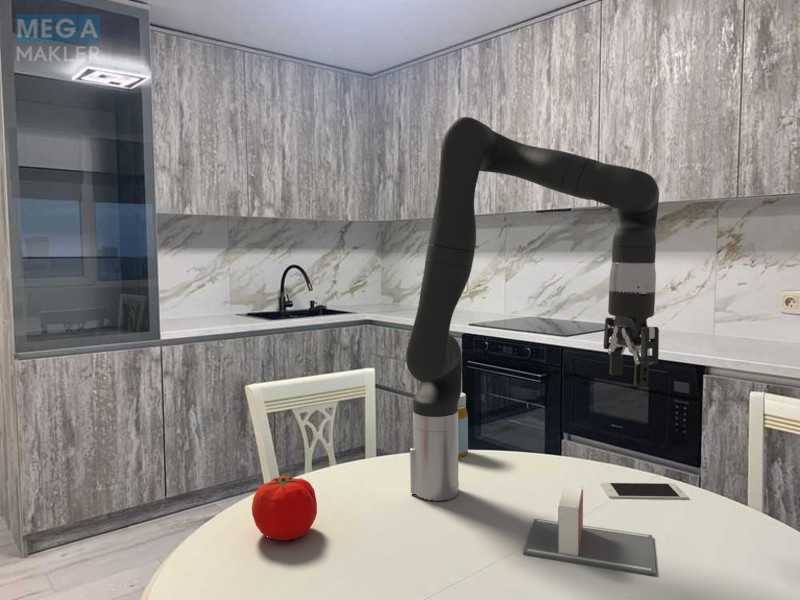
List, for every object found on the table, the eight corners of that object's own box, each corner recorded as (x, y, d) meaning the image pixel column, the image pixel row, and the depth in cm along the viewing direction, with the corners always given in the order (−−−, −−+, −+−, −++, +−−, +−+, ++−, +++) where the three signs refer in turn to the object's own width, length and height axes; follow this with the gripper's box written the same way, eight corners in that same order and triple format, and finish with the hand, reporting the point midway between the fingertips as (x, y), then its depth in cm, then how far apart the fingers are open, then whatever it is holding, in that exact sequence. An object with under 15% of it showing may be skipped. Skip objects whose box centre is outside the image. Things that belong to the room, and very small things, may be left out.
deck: (557, 553, 97) (557, 505, 96) (563, 526, 106) (563, 482, 105) (578, 556, 95) (579, 508, 95) (582, 529, 105) (583, 485, 104)
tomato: (329, 539, 103) (327, 481, 103) (265, 557, 98) (263, 496, 97) (303, 514, 114) (301, 461, 113) (244, 529, 108) (242, 474, 107)
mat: (523, 554, 97) (523, 551, 97) (534, 520, 109) (534, 518, 109) (655, 576, 90) (655, 572, 90) (652, 537, 102) (652, 534, 102)
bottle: (470, 450, 148) (470, 391, 147) (464, 460, 142) (463, 398, 141) (443, 448, 151) (443, 390, 149) (436, 457, 144) (435, 396, 143)
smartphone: (599, 486, 126) (599, 481, 126) (674, 487, 125) (674, 482, 124) (609, 500, 119) (609, 495, 119) (688, 501, 117) (688, 497, 117)
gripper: (592, 286, 110) (589, 372, 111) (633, 292, 95) (628, 390, 97) (630, 286, 111) (627, 371, 112) (676, 292, 97) (671, 389, 98)
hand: (627, 380), depth 105 cm, fingers open, 8 cm apart
